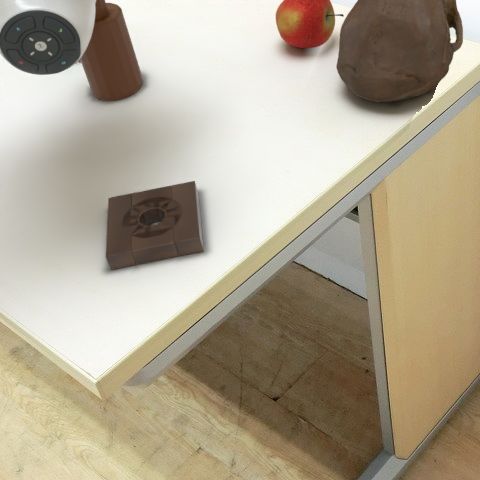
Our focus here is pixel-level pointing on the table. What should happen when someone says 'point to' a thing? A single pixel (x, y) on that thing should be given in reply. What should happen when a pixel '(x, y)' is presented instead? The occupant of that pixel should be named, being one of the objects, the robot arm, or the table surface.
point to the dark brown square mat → (155, 236)
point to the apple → (306, 22)
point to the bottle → (111, 56)
